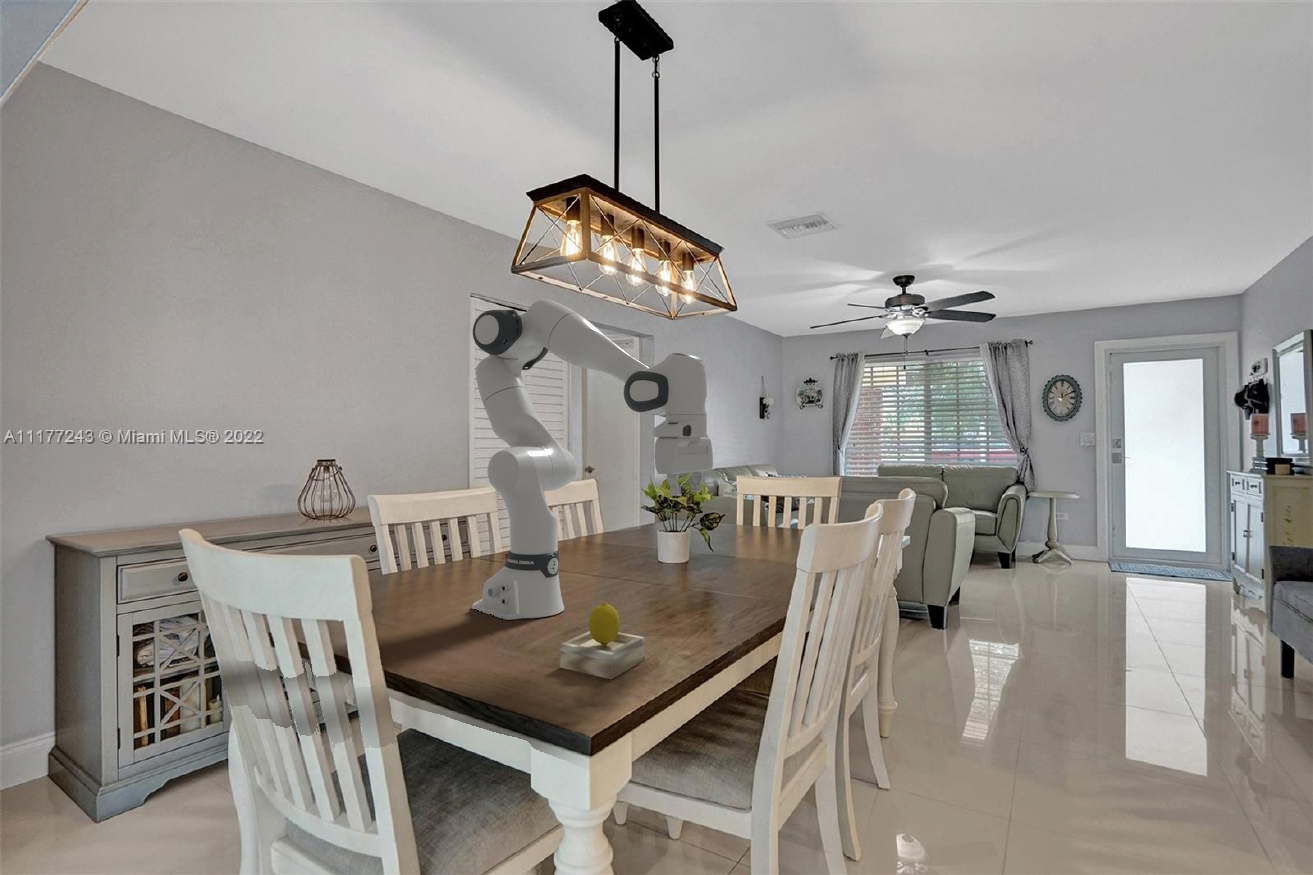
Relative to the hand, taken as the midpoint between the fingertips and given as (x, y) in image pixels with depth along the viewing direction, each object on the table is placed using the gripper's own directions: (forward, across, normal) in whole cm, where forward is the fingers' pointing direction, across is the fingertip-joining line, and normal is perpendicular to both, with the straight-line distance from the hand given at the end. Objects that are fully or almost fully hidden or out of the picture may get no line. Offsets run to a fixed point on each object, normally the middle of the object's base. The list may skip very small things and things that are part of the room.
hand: (686, 493), depth 136 cm
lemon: (+26, +25, -4) cm, 36 cm away
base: (+29, +25, -4) cm, 39 cm away
